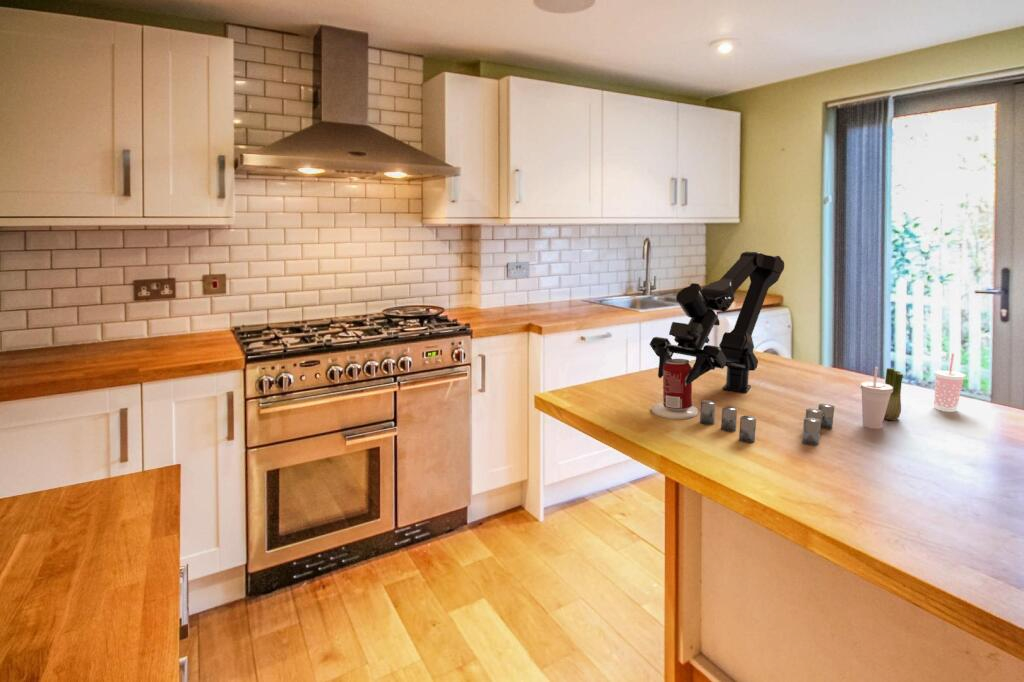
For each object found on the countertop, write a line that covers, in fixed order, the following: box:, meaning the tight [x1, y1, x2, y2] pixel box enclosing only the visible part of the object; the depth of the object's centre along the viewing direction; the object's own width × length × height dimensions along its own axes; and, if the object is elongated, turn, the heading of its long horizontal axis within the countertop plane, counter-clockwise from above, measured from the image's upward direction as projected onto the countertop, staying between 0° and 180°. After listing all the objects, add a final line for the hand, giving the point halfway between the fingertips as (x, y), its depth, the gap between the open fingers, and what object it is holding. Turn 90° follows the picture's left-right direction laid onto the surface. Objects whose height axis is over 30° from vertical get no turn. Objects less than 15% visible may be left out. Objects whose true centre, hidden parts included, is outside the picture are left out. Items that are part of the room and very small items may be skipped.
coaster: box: [651, 401, 699, 420], centre depth 151 cm, size 11×11×1 cm
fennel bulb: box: [884, 367, 903, 421], centre depth 143 cm, size 6×5×12 cm
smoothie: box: [859, 366, 893, 430], centre depth 138 cm, size 6×6×14 cm
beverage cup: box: [933, 352, 966, 413], centre depth 149 cm, size 6×6×14 cm
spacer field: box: [699, 399, 835, 446], centre depth 135 cm, size 14×29×5 cm, turn 82°
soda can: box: [662, 358, 693, 411], centre depth 149 cm, size 7×7×12 cm
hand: (672, 380), depth 148 cm, fingers open, 7 cm apart
